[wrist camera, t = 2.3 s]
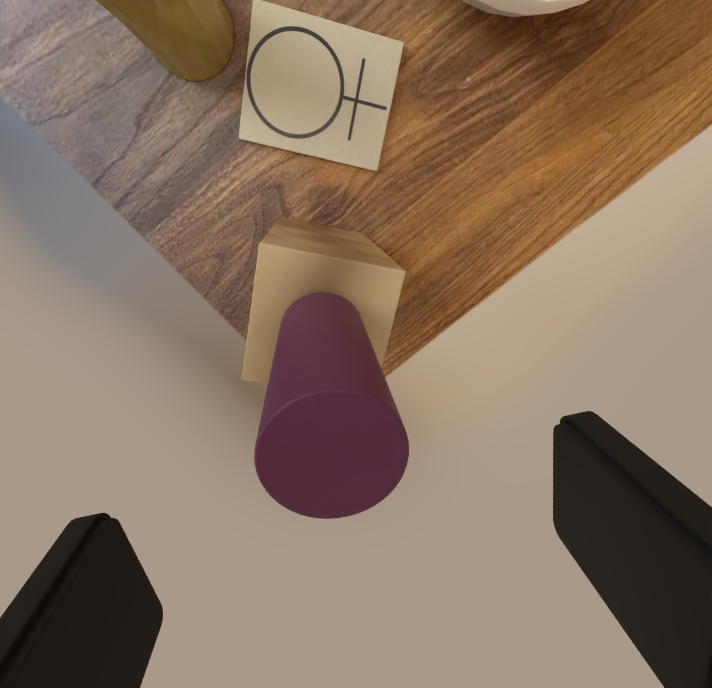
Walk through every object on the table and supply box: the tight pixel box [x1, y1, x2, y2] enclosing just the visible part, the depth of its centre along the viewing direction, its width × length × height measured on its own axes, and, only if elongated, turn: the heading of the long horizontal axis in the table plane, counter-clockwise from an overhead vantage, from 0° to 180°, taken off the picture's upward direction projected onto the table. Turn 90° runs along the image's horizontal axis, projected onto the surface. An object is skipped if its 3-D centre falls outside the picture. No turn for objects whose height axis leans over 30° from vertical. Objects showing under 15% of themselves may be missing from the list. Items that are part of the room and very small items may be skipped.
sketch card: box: [239, 0, 404, 171], centre depth 31 cm, size 11×9×1 cm
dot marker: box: [254, 292, 409, 519], centre depth 16 cm, size 4×4×11 cm
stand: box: [242, 216, 406, 383], centre depth 28 cm, size 7×7×17 cm
